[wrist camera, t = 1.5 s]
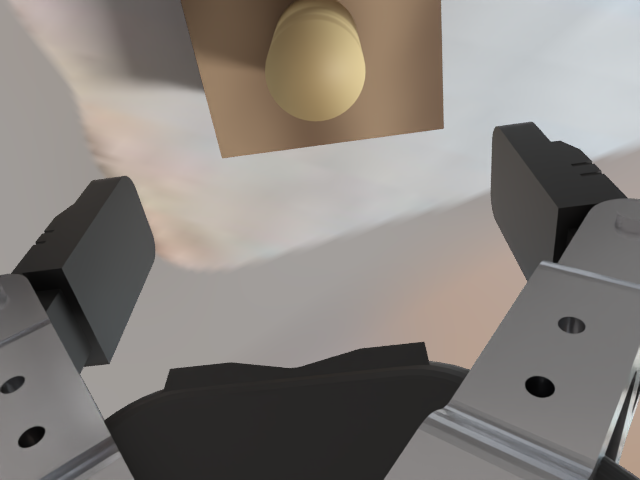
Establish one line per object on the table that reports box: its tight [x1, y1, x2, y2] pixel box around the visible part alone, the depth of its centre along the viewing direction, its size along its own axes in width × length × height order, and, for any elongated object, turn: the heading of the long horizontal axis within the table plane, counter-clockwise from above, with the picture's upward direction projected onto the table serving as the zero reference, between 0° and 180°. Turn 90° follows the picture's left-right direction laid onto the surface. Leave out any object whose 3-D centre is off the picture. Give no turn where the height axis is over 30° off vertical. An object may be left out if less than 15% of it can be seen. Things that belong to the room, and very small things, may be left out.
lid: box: [181, 0, 444, 158], centre depth 23 cm, size 11×10×7 cm
